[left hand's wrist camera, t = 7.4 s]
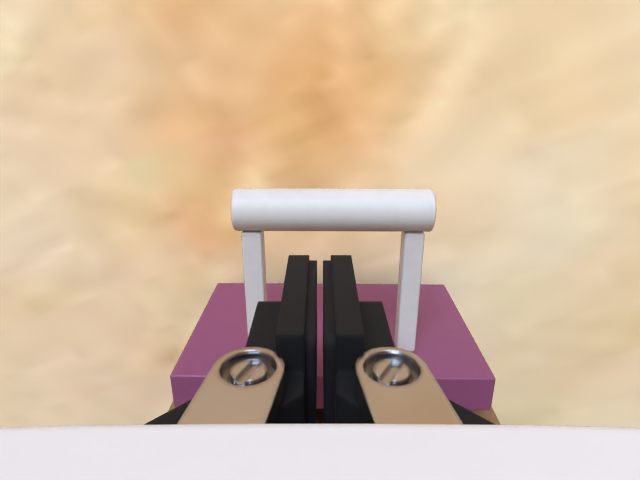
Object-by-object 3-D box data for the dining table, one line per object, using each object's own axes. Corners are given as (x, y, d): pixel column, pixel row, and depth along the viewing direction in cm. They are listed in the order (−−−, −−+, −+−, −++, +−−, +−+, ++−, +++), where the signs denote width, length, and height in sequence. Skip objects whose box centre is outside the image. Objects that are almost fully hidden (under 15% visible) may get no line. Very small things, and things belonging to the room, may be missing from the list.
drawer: (206, 159, 18) (145, 203, 12) (457, 159, 17) (524, 205, 12) (237, 509, 24) (207, 652, 18) (420, 511, 24) (450, 657, 18)
